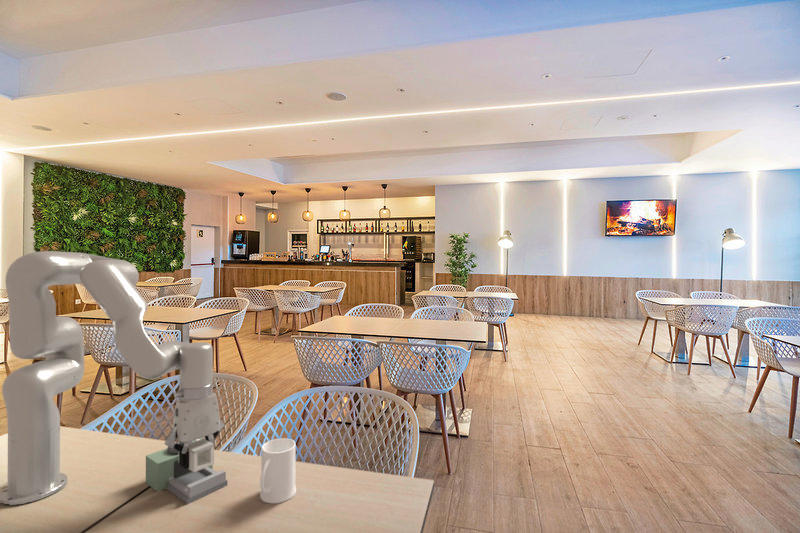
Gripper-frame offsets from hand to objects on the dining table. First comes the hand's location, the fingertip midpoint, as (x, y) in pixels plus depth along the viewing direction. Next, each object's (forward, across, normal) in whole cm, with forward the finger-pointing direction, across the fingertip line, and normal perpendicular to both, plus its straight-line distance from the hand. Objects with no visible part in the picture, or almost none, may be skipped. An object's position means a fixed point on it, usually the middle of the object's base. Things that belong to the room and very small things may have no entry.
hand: (196, 461), depth 100 cm
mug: (+7, +9, -20) cm, 23 cm away
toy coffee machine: (+6, 0, +3) cm, 7 cm away
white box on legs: (0, 0, 0) cm, 0 cm away
